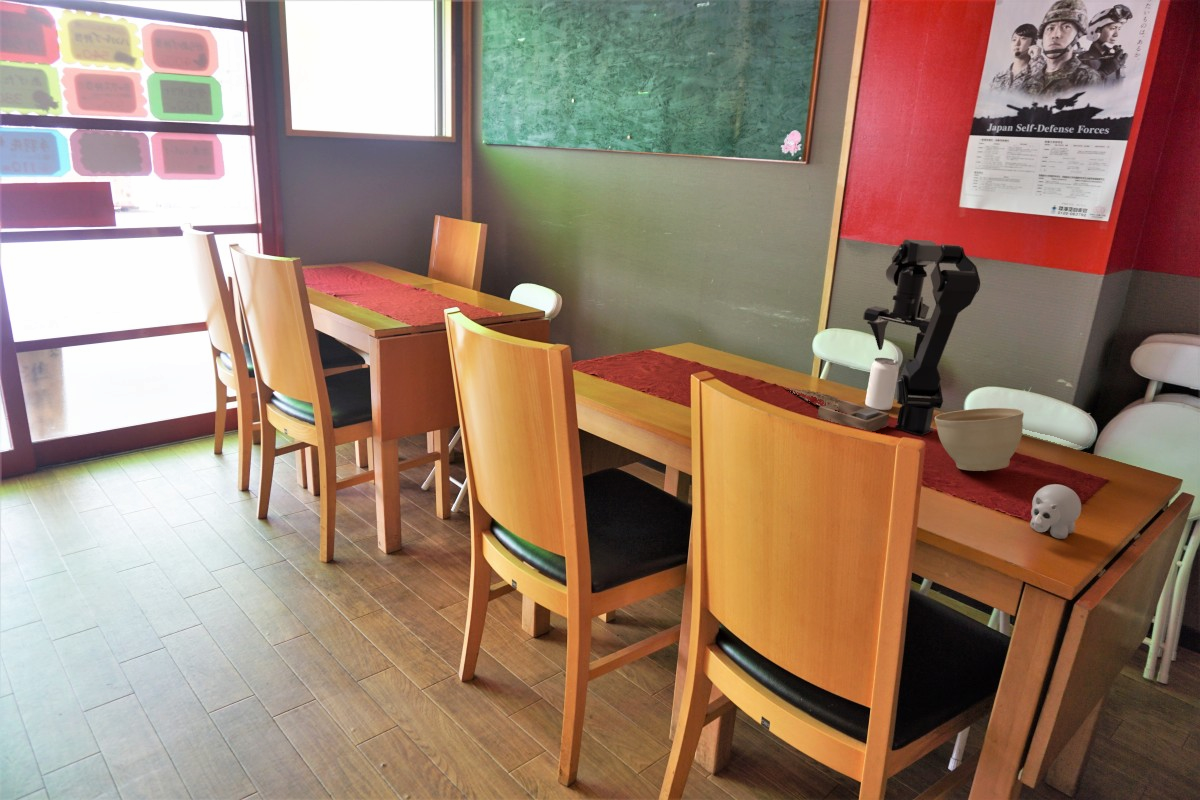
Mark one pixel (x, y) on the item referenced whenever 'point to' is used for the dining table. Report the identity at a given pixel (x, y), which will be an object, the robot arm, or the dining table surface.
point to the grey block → (867, 414)
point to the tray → (853, 416)
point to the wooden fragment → (826, 398)
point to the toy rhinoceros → (1055, 510)
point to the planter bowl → (981, 436)
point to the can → (882, 384)
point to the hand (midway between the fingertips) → (897, 354)
